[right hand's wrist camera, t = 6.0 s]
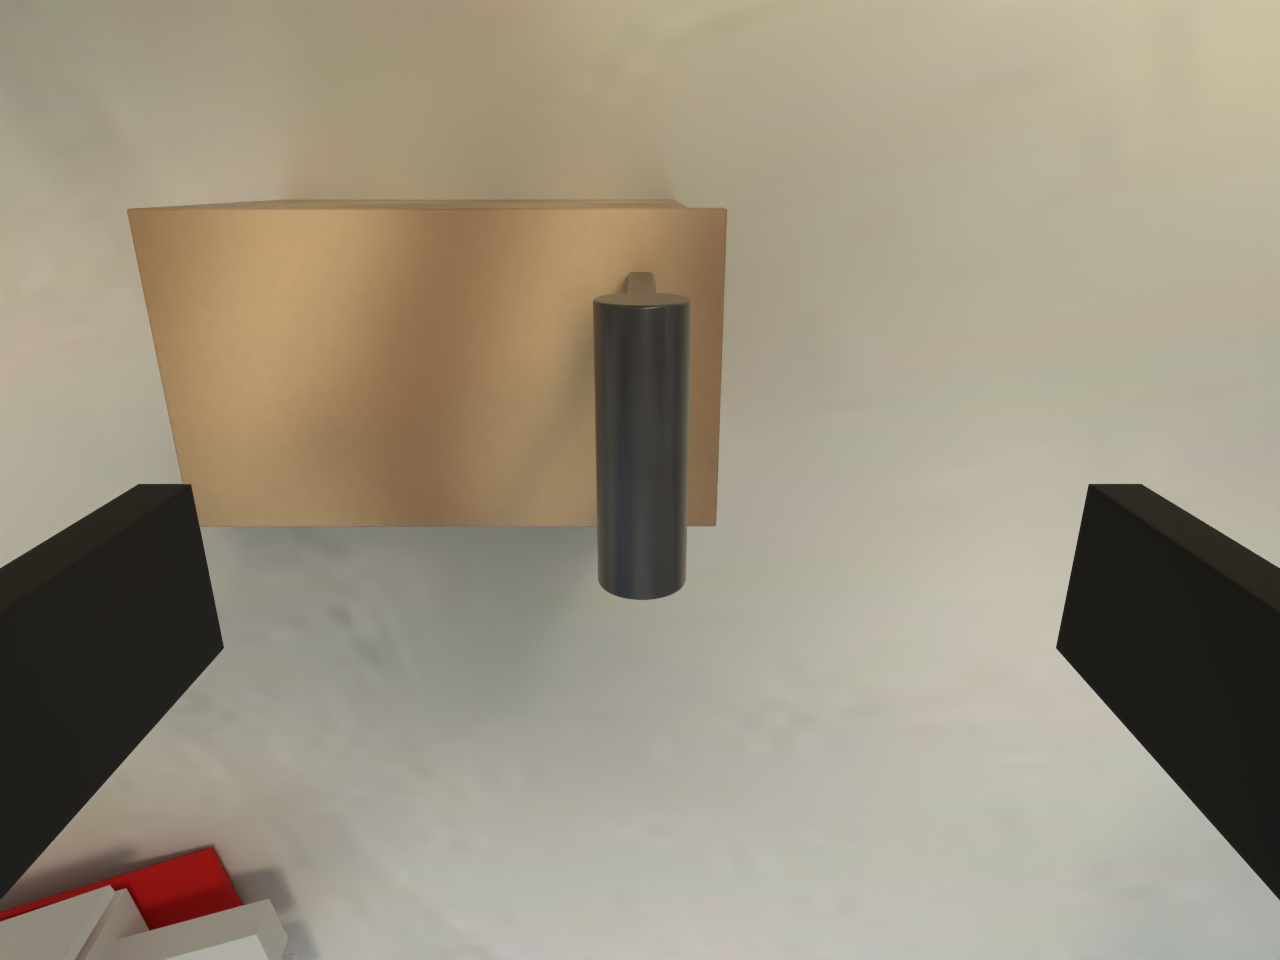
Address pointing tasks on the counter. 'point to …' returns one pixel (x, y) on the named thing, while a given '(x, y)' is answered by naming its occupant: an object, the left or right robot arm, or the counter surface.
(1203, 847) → the counter surface
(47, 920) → the toy
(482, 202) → the chest
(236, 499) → the lid
